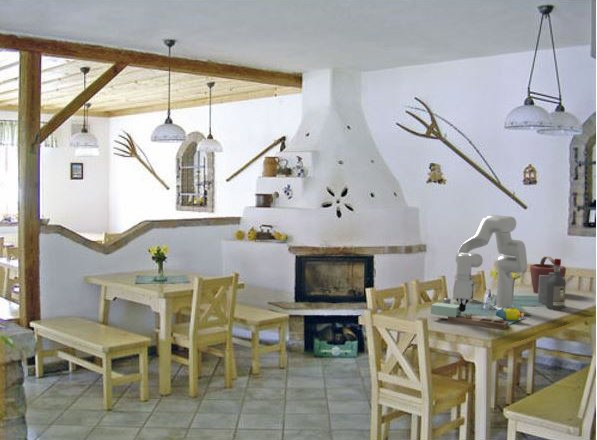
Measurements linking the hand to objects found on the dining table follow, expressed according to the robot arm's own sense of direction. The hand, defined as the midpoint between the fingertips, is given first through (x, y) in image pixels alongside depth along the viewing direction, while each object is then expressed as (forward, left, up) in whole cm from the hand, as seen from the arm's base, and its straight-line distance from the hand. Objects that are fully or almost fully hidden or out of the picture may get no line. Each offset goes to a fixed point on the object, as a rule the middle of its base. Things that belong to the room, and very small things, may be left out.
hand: (462, 311), depth 367 cm
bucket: (-125, +19, -6) cm, 127 cm away
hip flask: (-83, +30, -6) cm, 88 cm away
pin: (-17, -14, -6) cm, 23 cm away
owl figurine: (-18, +21, -6) cm, 28 cm away
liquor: (-71, +35, -6) cm, 79 cm away
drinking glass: (-66, -18, -6) cm, 69 cm away
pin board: (0, +9, -6) cm, 10 cm away
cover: (0, -9, -3) cm, 9 cm away
